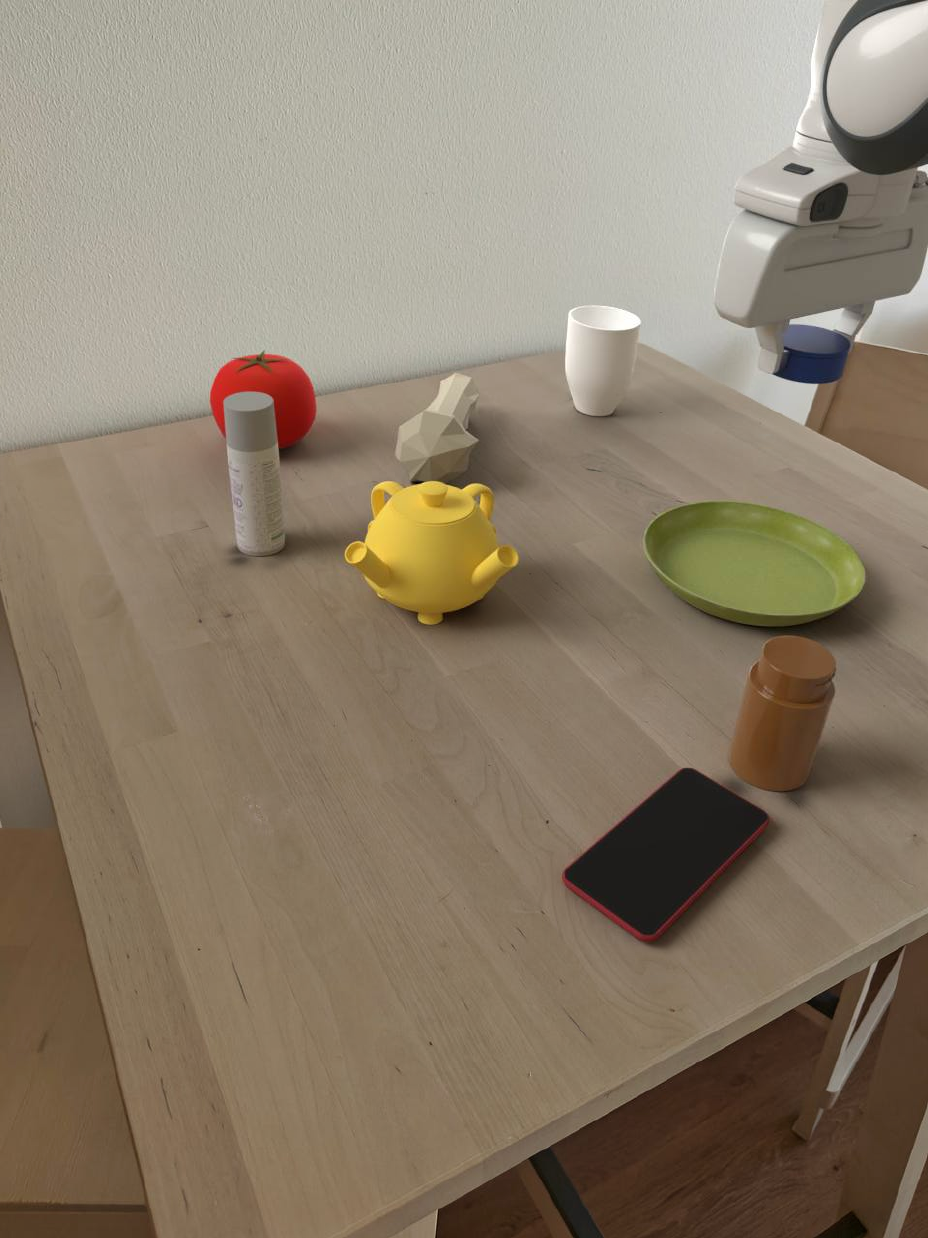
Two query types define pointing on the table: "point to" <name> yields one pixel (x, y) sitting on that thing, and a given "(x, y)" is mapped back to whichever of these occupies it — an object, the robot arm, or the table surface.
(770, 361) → the robot arm
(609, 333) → the mug
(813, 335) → the jar lid
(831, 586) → the saucer
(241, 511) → the container
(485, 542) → the teapot
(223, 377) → the tomato
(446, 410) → the faceted club
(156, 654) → the table surface
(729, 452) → the table surface
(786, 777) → the jar
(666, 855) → the smartphone
